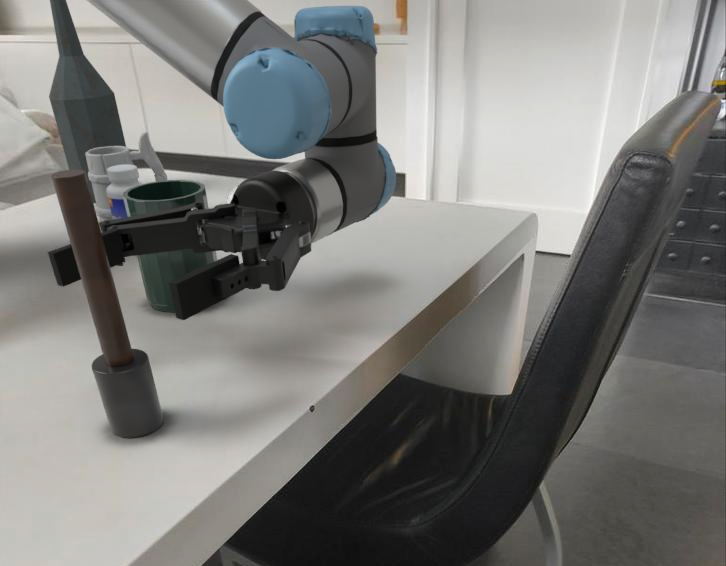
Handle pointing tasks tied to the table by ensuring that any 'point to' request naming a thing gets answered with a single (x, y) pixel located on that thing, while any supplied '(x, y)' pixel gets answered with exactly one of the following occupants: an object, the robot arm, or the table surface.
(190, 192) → the dark green pencil cup
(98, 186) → the mug
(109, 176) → the pill bottle
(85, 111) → the bottle
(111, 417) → the brush
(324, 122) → the robot arm
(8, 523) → the table surface
